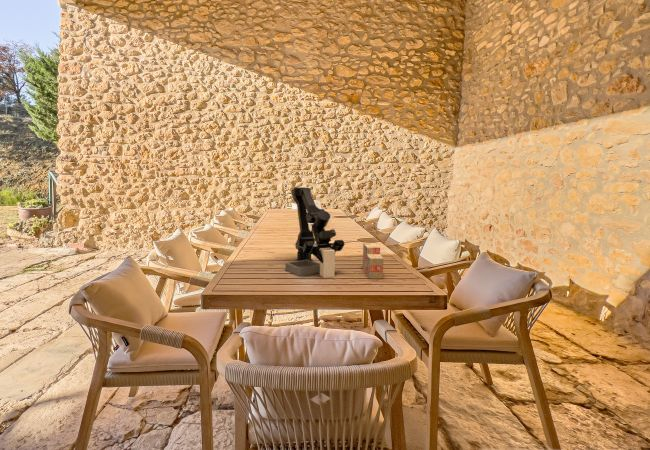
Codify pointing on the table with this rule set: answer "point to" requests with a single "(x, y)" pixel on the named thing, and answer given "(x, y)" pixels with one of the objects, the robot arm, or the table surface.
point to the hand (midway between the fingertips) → (328, 262)
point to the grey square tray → (303, 267)
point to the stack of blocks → (372, 260)
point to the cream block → (327, 263)
